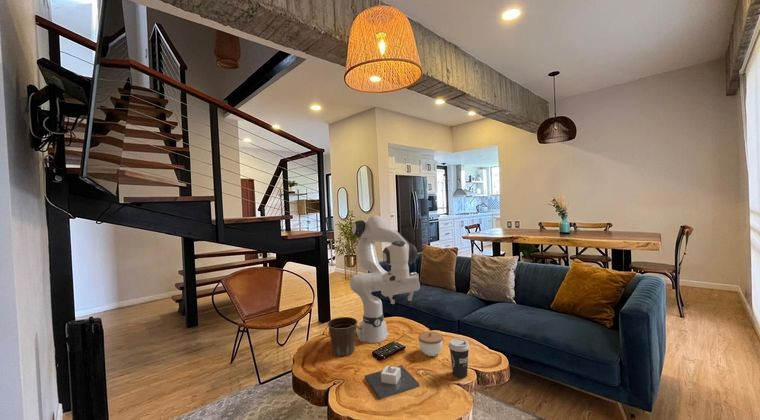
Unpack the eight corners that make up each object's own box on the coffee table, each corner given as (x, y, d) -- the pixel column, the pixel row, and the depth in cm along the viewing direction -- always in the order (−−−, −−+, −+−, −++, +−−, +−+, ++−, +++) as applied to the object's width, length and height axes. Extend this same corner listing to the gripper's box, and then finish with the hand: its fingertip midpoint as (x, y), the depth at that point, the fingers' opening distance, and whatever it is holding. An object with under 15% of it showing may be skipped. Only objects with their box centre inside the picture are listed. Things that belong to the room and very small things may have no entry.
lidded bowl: (436, 361, 161) (435, 340, 160) (414, 355, 168) (413, 334, 168) (447, 351, 171) (446, 330, 170) (426, 345, 178) (425, 326, 178)
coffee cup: (455, 381, 143) (454, 348, 142) (445, 370, 152) (444, 339, 151) (474, 377, 145) (473, 344, 145) (463, 366, 155) (462, 336, 154)
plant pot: (361, 344, 183) (359, 316, 183) (356, 358, 167) (354, 328, 167) (333, 344, 185) (331, 316, 184) (325, 358, 169) (323, 328, 168)
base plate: (364, 378, 149) (364, 363, 148) (401, 368, 156) (400, 353, 156) (379, 399, 133) (378, 382, 133) (419, 386, 141) (418, 370, 140)
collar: (381, 382, 143) (381, 373, 142) (386, 373, 149) (386, 365, 149) (396, 384, 140) (395, 375, 140) (400, 376, 146) (400, 367, 146)
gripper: (415, 270, 166) (416, 296, 166) (379, 275, 158) (380, 303, 158) (421, 272, 160) (422, 300, 161) (384, 278, 152) (385, 307, 152)
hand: (401, 301), depth 159 cm, fingers open, 8 cm apart
